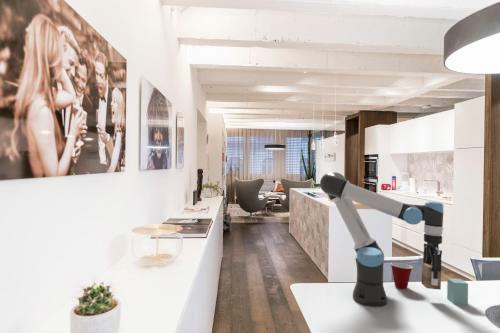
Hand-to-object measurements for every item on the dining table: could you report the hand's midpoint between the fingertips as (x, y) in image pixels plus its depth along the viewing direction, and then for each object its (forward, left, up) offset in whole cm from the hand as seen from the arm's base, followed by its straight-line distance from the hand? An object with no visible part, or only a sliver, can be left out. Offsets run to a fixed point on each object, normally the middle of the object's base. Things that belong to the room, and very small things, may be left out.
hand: (430, 282), depth 145 cm
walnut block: (0, 0, -2) cm, 2 cm away
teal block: (+12, 0, -8) cm, 14 cm away
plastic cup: (-8, +15, -9) cm, 19 cm away
